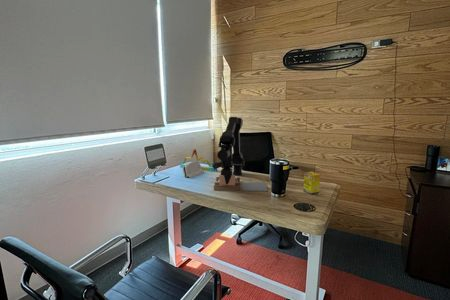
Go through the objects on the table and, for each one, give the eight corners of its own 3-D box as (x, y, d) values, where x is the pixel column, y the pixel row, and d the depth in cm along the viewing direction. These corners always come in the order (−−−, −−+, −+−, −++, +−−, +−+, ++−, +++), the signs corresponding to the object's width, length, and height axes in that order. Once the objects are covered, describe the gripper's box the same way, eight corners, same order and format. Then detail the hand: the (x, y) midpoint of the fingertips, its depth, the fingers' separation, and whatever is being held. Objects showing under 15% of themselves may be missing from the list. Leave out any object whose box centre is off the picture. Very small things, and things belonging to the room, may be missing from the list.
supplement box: (303, 191, 137) (304, 172, 135) (311, 189, 139) (312, 171, 137) (310, 194, 132) (311, 175, 130) (319, 193, 134) (320, 174, 132)
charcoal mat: (242, 183, 151) (242, 182, 151) (264, 183, 150) (264, 182, 150) (242, 191, 137) (242, 190, 137) (267, 191, 137) (267, 190, 137)
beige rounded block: (189, 178, 161) (185, 164, 161) (184, 179, 163) (180, 165, 163) (204, 172, 175) (200, 159, 175) (199, 173, 177) (195, 160, 177)
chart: (217, 170, 179) (217, 150, 176) (215, 171, 176) (215, 151, 173) (182, 166, 191) (181, 147, 188) (180, 167, 188) (179, 148, 185)
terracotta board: (219, 187, 143) (219, 174, 142) (234, 187, 143) (235, 174, 141) (219, 189, 141) (219, 175, 139) (234, 189, 140) (234, 176, 139)
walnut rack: (216, 180, 156) (216, 177, 155) (239, 181, 155) (239, 177, 155) (213, 190, 139) (213, 186, 139) (240, 190, 138) (240, 186, 138)
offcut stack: (218, 181, 154) (218, 174, 153) (237, 181, 154) (237, 174, 153) (218, 184, 150) (217, 177, 149) (237, 184, 149) (237, 177, 148)
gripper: (214, 152, 148) (214, 177, 151) (211, 160, 129) (211, 188, 132) (232, 153, 147) (232, 177, 150) (232, 160, 129) (232, 188, 132)
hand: (227, 182), depth 141 cm, fingers open, 5 cm apart
